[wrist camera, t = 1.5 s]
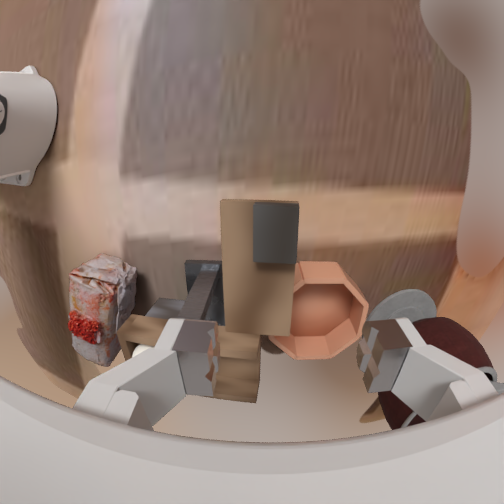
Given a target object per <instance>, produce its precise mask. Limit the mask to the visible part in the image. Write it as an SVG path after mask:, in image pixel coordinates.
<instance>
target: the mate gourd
mask: <svg viewBox="0 0 504 504" xmlns="http://www.w3.org/2000/svg"><path fill="white" fill-rule="evenodd" d="M403 317H406V318H408V319H409V320H410V322H411V323H412V324H413V326H414V327H415V329H416V330H417V331H418V333H419V334H420V336H421V337H422V338H423V340H424V341H425V343H426V344H427V345H433V346H434V347H436V348H438V349H440V350H442V351H444V352H446V353H448V354H450V355H452V356H454V357H456V358H457V359H459V360H461V361H463V362H465V363H467V364H469V365H471V366H473V367H475V368H477V369H478V370H480V371H482V372H484V374H485V375H486V376H487V378H488V379H489V381H490V382H491V384H492V385H493V387H494V388H495V389H496V391H497V392H498V394H499V395H500V394H502V393H504V383H498V382H497V373H496V371H495V370H494V368H493V366H492V363H491V361H490V359H489V357H488V355H487V354H486V352H485V350H484V348H483V346H482V345H481V344H480V343H479V342H478V340H477V339H476V338H475V337H474V336H473V334H471V333H470V332H469V331H468V330H466V329H465V328H464V327H462V326H461V325H460V324H458V323H457V322H455V321H453V320H451V319H449V318H445V317H436V306H435V303H434V301H433V300H432V298H431V297H430V296H429V295H428V294H427V293H425V292H424V291H421V290H418V289H407V290H402V291H399V292H396V293H394V294H392V295H390V296H388V297H387V298H386V299H384V300H383V301H382V302H380V303H379V304H378V305H377V306H376V307H375V308H374V310H373V311H372V312H371V313H370V315H369V317H368V318H367V320H366V321H375V320H388V319H395V318H403ZM363 338H364V336H363V334H362V339H363ZM391 391H392V390H390V391H382V392H378V395H379V400H380V404H381V407H382V409H383V412H384V415H385V418H386V420H387V422H388V423H389V425H390V427H391V429H392V430H395V429H399V428H404V427H408V426H412V425H416V424H420V423H423V422H426V421H425V420H424V419H423V418H422V417H420V416H419V415H418V414H417V413H416V412H415V411H413V410H412V409H411V408H410V407H409V406H408V405H406V404H405V403H404V402H403V401H402V400H401V399H399V398H398V397H397V396H396V395H395V394H394V393H393V392H391Z"/></svg>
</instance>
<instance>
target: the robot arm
mask: <svg viewBox="0 0 504 504" xmlns="http://www.w3.org/2000/svg"><path fill="white" fill-rule="evenodd" d="M56 117H57V101H56V95H55V92H54V89H53V87H52V85H51V84H50V82H49V81H48V80H46V79H45V78H43V77H41V76H39V75H38V73H37V70H36V68H35V67H34V66H27V67H25V68H24V69H23V70H22V71H20V72H0V183H3V184H11V185H19V186H28V185H30V184H31V182H32V180H33V177H34V173H35V170H36V167H37V165H38V164H39V162H40V161H41V159H42V158H43V156H44V155H45V153H46V151H47V149H48V147H49V145H50V143H51V140H52V137H53V133H54V129H55V125H56ZM218 334H219V330H218V323H217V321H205V320H193V319H180V318H170V319H169V320H168V321H167V323H166V325H165V327H164V329H163V331H162V333H161V335H160V337H159V339H158V341H157V343H156V345H155V347H154V348H148V349H147V350H145V351H143V352H141V353H139V354H138V355H136V356H134V357H132V358H130V359H129V360H127V361H125V362H123V363H121V364H119V365H118V366H116V367H114V368H112V369H110V370H109V371H107V372H105V373H103V374H101V375H99V376H97V377H95V378H93V379H92V380H90V381H89V382H88V384H87V386H86V387H85V389H84V390H83V392H82V394H81V395H80V397H79V398H78V400H77V402H76V403H75V405H74V407H73V408H70V407H67V406H64V405H62V404H59V403H57V402H54V401H52V400H49V399H47V398H45V397H42V396H40V395H38V394H35V393H33V392H31V391H29V390H27V389H25V388H23V387H21V386H18V385H17V384H15V383H12V382H11V381H9V380H7V379H5V378H3V377H1V376H0V504H504V393H502V394H500V395H499V394H498V392H497V391H496V389H495V388H494V387H493V385H492V384H491V382H490V381H489V379H488V378H487V376H486V375H485V374H484V372H482V371H480V370H478V369H477V368H475V367H473V366H471V365H469V364H467V363H465V362H463V361H461V360H459V359H457V358H456V357H454V356H452V355H450V354H448V353H446V352H444V351H442V350H440V349H438V348H436V347H434V346H433V345H427V344H426V343H425V341H424V340H423V338H422V337H421V336H420V334H419V333H418V331H417V330H416V329H415V327H414V326H413V324H412V323H411V322H410V320H409V319H408V318H406V317H403V318H395V319H388V320H375V321H365V323H364V325H363V328H362V334H363V336H364V338H363V339H362V340H361V341H360V342H359V344H358V348H357V363H358V366H359V369H360V370H361V371H363V372H364V373H365V374H364V377H363V380H364V383H365V386H366V389H367V392H368V393H372V392H382V391H390V390H392V391H391V392H393V393H394V394H395V395H396V396H397V397H398V398H399V399H401V400H402V401H403V402H404V403H405V404H406V405H408V406H409V407H410V408H411V409H412V410H413V411H415V412H416V413H417V414H418V415H419V416H420V417H422V418H423V419H424V420H425V421H426V422H423V423H420V424H416V425H412V426H408V427H404V428H399V429H395V430H391V431H386V432H380V433H375V434H369V435H363V436H357V437H350V438H341V439H332V440H323V441H308V442H287V443H286V442H285V443H259V442H257V443H255V442H234V441H220V440H209V439H201V438H193V437H185V436H178V435H172V434H166V433H161V432H156V431H154V430H153V428H152V426H153V425H155V424H156V423H157V422H158V421H159V420H160V419H161V418H162V417H164V416H165V415H166V414H167V413H168V412H169V411H170V410H171V409H172V408H174V407H175V406H176V405H177V404H178V403H179V402H180V401H181V400H182V399H183V398H184V397H186V394H187V395H198V396H214V391H215V386H216V373H217V372H218V370H219V365H220V343H219V342H218V341H217V338H218Z"/></svg>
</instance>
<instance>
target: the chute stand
mask: <svg viewBox="0 0 504 504" xmlns="http://www.w3.org/2000/svg"><path fill="white" fill-rule="evenodd" d="M185 272H186V282H187V291H188V296H187V298H186V300H185V302H184V304H183V306H182V309H181V311H180V313H179V315H178V317H177V318H180V319H193V320H205V321H217V323H218V326H225V312H224V293H223V271H222V261H207V260H186V262H185Z"/></svg>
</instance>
